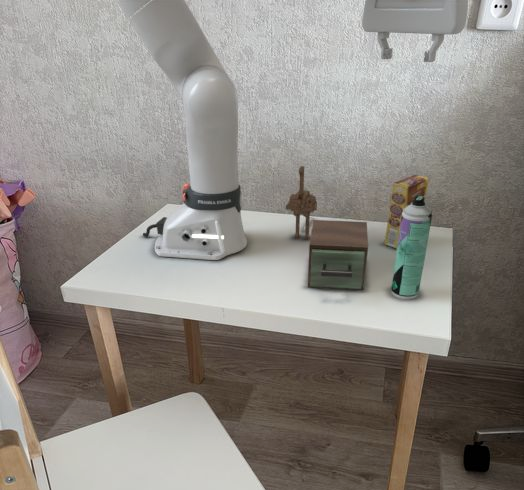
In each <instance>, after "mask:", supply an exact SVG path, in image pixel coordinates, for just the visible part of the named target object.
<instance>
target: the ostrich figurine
mask: <svg viewBox="0 0 524 490" xmlns="http://www.w3.org/2000/svg"><path fill="white" fill-rule="evenodd" d="M298 176H299V190H297V192H296V193H291V195H290V196H289V201H288V202H287V203H286V205H285V210H287V211H288V210H289V211H291V212H293V216H294V217H295V233H294V239H296V240H298V239H299V238H300V227H301V226H300V225H301V215H303V217H304V218H305V224H304V227H303V231H304V238H303V239H304V240H305V241H308V240H309V238H310V223H311V221H312V219H313V216H311V213H314V212H316V211H317V208H318V201H317V198H316V195H313V194H311V193H310V190H305V189H304V186H305V166H304V165H300V166H299V168H298Z"/></svg>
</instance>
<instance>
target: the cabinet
mask: <svg viewBox="0 0 524 490" xmlns="http://www.w3.org/2000/svg"><path fill="white" fill-rule="evenodd" d="M309 238H310V239H309V245H308V267H307V268H308V270H307V288H315V289H334V290H350V291H364V290H365V289H364V288H365V281H366V280H365V279H366V273H367V272H366V270H367V263H368V262H367V261H368V254H369V253H368V251H369V241H368V240H369V239H368V238H369V237H368V222H367V221H350V220H349V221H348V220H347V221H346V220H326V219H325V220H324V219H313V220H312V227H311V232H310V237H309ZM312 249H336V250H358V251H364V252H365V256H364V266H363V275H362V285H361V289H351V288H333V287H314V286H310V281H311V257H312Z"/></svg>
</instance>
